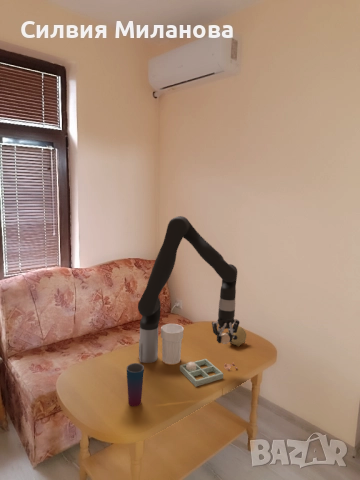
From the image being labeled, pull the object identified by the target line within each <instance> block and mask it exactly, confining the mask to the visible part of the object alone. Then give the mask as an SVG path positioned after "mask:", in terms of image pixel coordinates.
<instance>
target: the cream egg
mask: <svg viewBox="0 0 360 480" xmlns="http://www.w3.org/2000/svg"><path fill="white" fill-rule="evenodd" d="M194 362H195V361H189V362H187V363H186V364H187V365H186V370H187V371H188V372H192V371H195V370H196V369H197V366H196V364H195V363H194Z"/></svg>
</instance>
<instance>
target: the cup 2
mask: <svg viewBox="0 0 360 480" xmlns="http://www.w3.org/2000/svg"><path fill="white" fill-rule="evenodd" d="M184 330H185V328H184V327H183V325H180V324H177V323H167V324H163V325H161V327H160V338H161V342H162V344H161V350H162V352H161V353H162V357H161V360H162V362H163V363H164V365H169V366H175V365H178V364H180V362H181V354H182V340H183V338H184Z"/></svg>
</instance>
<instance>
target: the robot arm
mask: <svg viewBox="0 0 360 480" xmlns="http://www.w3.org/2000/svg"><path fill="white" fill-rule="evenodd" d="M183 239H184V240H186V241H187V242H188V243H189V244H190V245H191V246H192V247H193V248H194V250H195V251H196V252H197V254H198V255H199V256H200V257H201V259H202V260H204V261H205V262H206V263H207V264H208V265H209V266H210V267H211V268H212V269H213V270H214V272H215V273H216V274H217V275H218V276H219V277H220V278H221V286H220V295H219V301H218V312H217V313H218V314H217V315H218V317H217V321H211V327H212V332H213V334H214V335H215V336H216V342H217V343H218V344H222V343H221V334H222V333H224V331H225V330H226V329H227V332H229V333H228V335H229V336H230V341H229V342H228V343H230V342H231V341H232V336H233V333H236V332H237V329H238V326H240V320H239V319H236V318H235V314H236V313H235V312H236V291H237V289H236V286H237V278H238V268H237V267H236V266H235V265H234V264H231V263H230V264H229V263H228V262H227V261H226V260H225V259H224V257H223V256H222V254H221V253H220V252H219V251H217V249H215V248H214V247H213V246H212V245H211V244H210V243H209V242H208V241H207V240H205V238H204V237H202V235H201V234H200V233H199V232H198V231H197V230H196V228H195V227H194V226H193V225H192V223H191V222H190V221H189V220H188V218H186V217H185V216H183V215H180V216H175V217H173V218H171V219H170V220H169V222H168V224H167V226H166V232H165V235H164V239H163V241H162V242H163V243H162V244H161V247H160V249H159V251H158V253H157V257H156V258H155V260H154V264H153V266H152V270H151V272H150V274H149V278H148V281H147V284H146V287H145V289H144V291H143V293H142V296H141V297H140V299H139V301H138V303H137V311H138V312H139V314H140V315H141V319H140V322H139V339H138V359H139V362H140V363H144V364H146V363H147V364H149V363H155V362H156V361H157V360H158V355H159V323H160V319H161V305H162V303H161V299H160V295H161V292H162V290H163V288H165V285H166V284H167V283H168V280H169V279H170V277H171V274H172V273H173V270H174V267H175V265H176V259H177V253H178V249H179V246H180V244H181V242H182V241H183Z"/></svg>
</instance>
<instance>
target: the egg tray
mask: <svg viewBox="0 0 360 480" xmlns="http://www.w3.org/2000/svg"><path fill="white" fill-rule="evenodd" d="M193 362H194V363H195V364H196V366H197V369H196V370H195V371H192V372H188V371H187V370H186V365H187V363H184V364H180V365H179V371H180V372H181V373H182V374H183V375H184V377H186V378H187V380H189V381H190V382H191V384H192V385H194V386H195V387H200V386H202V385H206V384H209V383H213V382H215V381H218V380H223V379H224V373H223V371H221V370H220V369H219V368H218V367H217V366H215V365H214V364H213V363H212V362H211V361H209V359H207V358H203V359H200V360H199V359H198V360H196V361H193ZM204 365H205V366H206V367H203V368H201V366H204ZM212 372H213V373H214V374H213V375H209V374H208V373H212ZM200 375H201V377H202V378H199V379H196V377H198V376H200Z"/></svg>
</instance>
